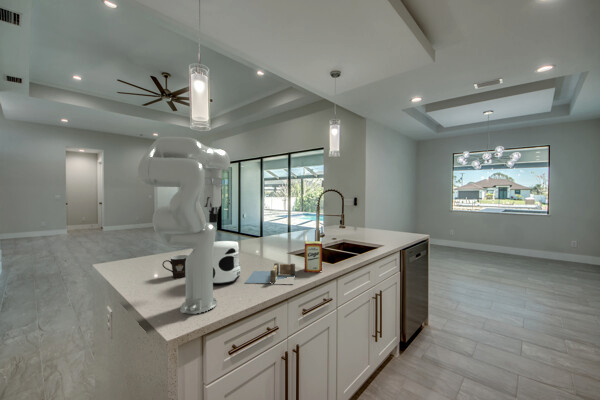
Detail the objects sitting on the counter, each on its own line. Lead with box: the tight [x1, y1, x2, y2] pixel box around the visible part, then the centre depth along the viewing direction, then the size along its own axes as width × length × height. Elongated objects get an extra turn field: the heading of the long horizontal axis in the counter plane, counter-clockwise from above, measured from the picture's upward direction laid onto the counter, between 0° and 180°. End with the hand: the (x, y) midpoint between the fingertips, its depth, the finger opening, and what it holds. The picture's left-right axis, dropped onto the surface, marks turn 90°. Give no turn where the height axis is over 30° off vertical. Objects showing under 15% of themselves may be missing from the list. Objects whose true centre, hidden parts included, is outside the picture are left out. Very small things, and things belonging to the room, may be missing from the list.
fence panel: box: [270, 265, 277, 283], centre depth 121 cm, size 11×2×5 cm, turn 178°
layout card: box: [244, 270, 297, 284], centre depth 125 cm, size 18×23×1 cm
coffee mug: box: [161, 254, 189, 280], centre depth 126 cm, size 12×9×10 cm
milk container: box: [213, 240, 242, 285], centre depth 120 cm, size 17×17×18 cm
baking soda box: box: [304, 240, 323, 273], centre depth 137 cm, size 10×6×16 cm
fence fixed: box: [273, 262, 296, 276], centre depth 129 cm, size 11×2×6 cm, turn 86°
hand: (213, 222), depth 114 cm, fingers closed
